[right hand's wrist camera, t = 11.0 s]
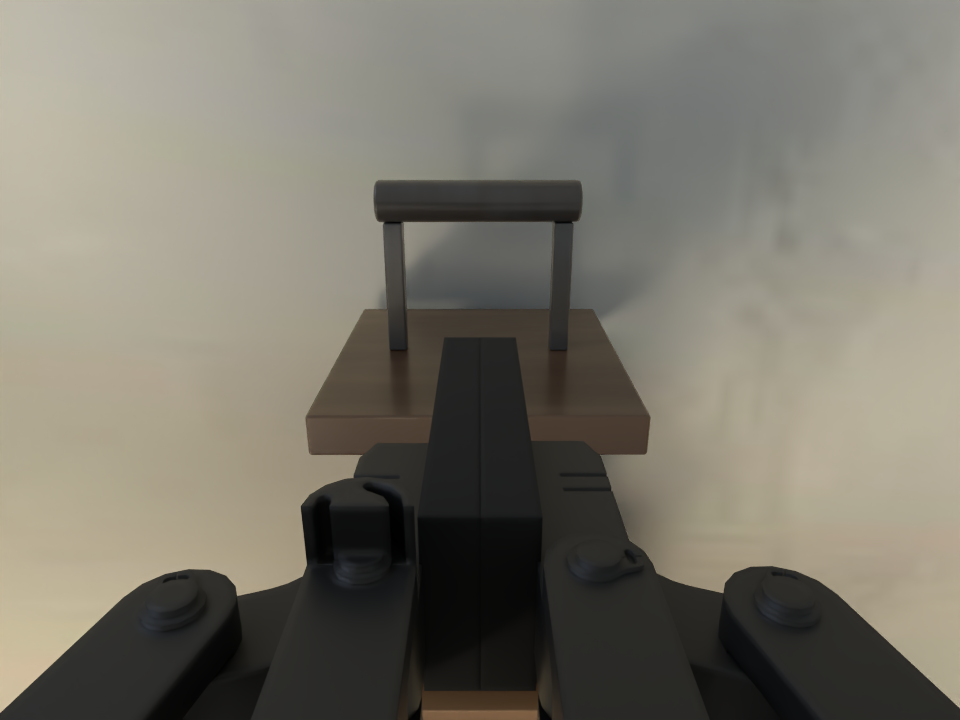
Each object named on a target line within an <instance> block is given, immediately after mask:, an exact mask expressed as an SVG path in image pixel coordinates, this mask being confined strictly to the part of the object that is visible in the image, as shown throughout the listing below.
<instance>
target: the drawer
mask: <svg viewBox="0 0 960 720" xmlns="http://www.w3.org/2000/svg"><path fill="white" fill-rule="evenodd" d="M582 199H583V196H582V185H581V182H580V181H579V180H378V181H376V183H375V186H374V211H375V216H376V219H377V221H379V222H384V224H383V237H384V257H385V276H386V296H387V309H365V310H364V311H363V313H362V315H361V317H360V318H359V320H358V322H357V324H356V326H355V328H354V329H353V331H352V333H351V335H350V337H349V339H348V340H347V342H346V344H345V346H344V348H343V349H342V351H341V353H340V355H339V357H338V359H337V360H336V362H335V364H334V366H333V368H332V370H331V371H330V373H329V375H328V377H327V379H326V381H325V382H324V384H323V386H322V388H321V390H320V392H319V393H318V395H317V397H316V399H315V401H314V402H313V404H312V406H311V408H310V410H309V412H308V413H307V415H306V427H307V437H308V447H309V453H310V454H311V455H364V454H365V453H366V452H367V451H368V450H369V449H371V448H372V447H373V446H374V445H375V444H376V443H429V436H430V429H431V423H432V416H433V409H434V402H435V396H436V389H437V382H438V376H439V369H440V362H441V355H442V349H443V342H444V337H516V342H517V349H518V355H519V362H520V369H521V376H522V382H523V389H524V396H525V402H526V409H527V416H528V423H529V429H530V436H531V441H584V442H585V443H586V444H587V445H589V446H590V447H591V448H592V449H593V450H594V451H596V452H597V453H598V454H646V453H647V447H648V437H649V426H650V415H649V413H648V411H647V410H646V408H645V406H644V404H643V402H642V400H641V398H640V397H639V395H638V393H637V391H636V389H635V387H634V385H633V383H632V382H631V380H630V378H629V376H628V374H627V372H626V370H625V369H624V367H623V365H622V363H621V361H620V359H619V357H618V355H617V354H616V352H615V350H614V348H613V346H612V344H611V342H610V340H609V339H608V337H607V335H606V333H605V331H604V329H603V327H602V326H601V324H600V322H599V320H598V318H597V316H596V314H595V312H594V311H593V310H592V309H569V308H570V287H571V266H572V246H573V223H572V222H577V221H579V220H580V217H581V213H582ZM403 222H553V232H552V259H551V285H550V309H407V298H406V273H405V248H404V223H403ZM423 683H424V679H423ZM536 683H537V677H536Z"/></svg>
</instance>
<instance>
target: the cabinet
mask: <svg viewBox="0 0 960 720" xmlns="http://www.w3.org/2000/svg"><path fill="white" fill-rule="evenodd" d="M422 714H423V720H537V714H538V686H537V683H536V691H424V683H423V689H422Z"/></svg>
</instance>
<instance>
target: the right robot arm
mask: <svg viewBox="0 0 960 720" xmlns="http://www.w3.org/2000/svg"><path fill="white" fill-rule="evenodd" d="M301 513H302V522H303V531H304V540H305V549H306V558H307V567H306V570H305V572H304V575H303V577H301V578H299V579H297V580H295V581H292V582H290V583H288V584H285V585H282V586H279V587H275V588H272V589H268V590H263V591H259V592H254V593H250V594H245V595H241V596H237V593H236V587H235V585H234V584H233V583H232V582H231V581H230V580H229V579H228V578H227V576H225V575H222V574H220V573H217V572H214V571H211V570H194V569H188V570H183V571H178V572H173V573H168V574H164V575H162V576H160V577H157V578H155V579H153V580H151V581H148V582H146V583H144V584H142V585H140V586H139V587H138V588H136V589H135V590H133V591H132V592H131V593H129V594H128V595H126V596H125V597H124V598H123V599H121V600H120V601H119V602H118V603H117V604H116V605H115V606H114V607H113V608H112V609H111V610H110V611H109V612H108V613H107V614H106V615H104V616H103V617H102V618H101V619H100V620H99V621H98V622H97V623H96V624H95V625H94V626H93V627H92V628H91V629H90V630H88V631H87V632H86V633H85V634H84V635H83V636H82V637H81V638H80V639H79V640H78V641H77V642H76V643H75V644H74V645H72V646H71V647H70V648H69V649H68V650H67V651H66V652H65V653H64V654H63V655H62V656H61V657H60V658H59V659H58V660H56V661H55V662H54V663H53V664H52V665H51V666H50V667H49V668H48V669H47V670H46V671H45V672H44V673H43V674H42V675H40V676H39V677H38V678H37V679H36V680H35V681H34V682H33V683H32V684H31V685H30V686H29V687H28V688H27V689H26V690H24V691H23V692H22V693H21V694H20V695H19V696H18V697H17V698H16V699H15V700H14V701H13V702H12V703H11V704H10V705H8V706H7V707H6V708H5V709H4V710H3V711H2V712H1V713H0V720H423V714H422V689H423V679H424V691H536V677H537V686H538V714H537V720H960V708H959V707H958V706H957V705H955V704H954V703H953V702H952V701H951V700H950V699H949V698H948V697H947V696H946V695H945V694H944V693H943V692H941V691H940V690H939V689H938V688H937V687H936V686H935V685H934V684H933V683H932V682H931V681H930V680H929V679H928V678H926V677H925V676H924V675H923V674H922V673H921V672H920V671H919V670H918V669H917V668H916V667H915V666H914V665H912V664H911V663H910V662H909V661H908V660H907V659H906V658H905V657H904V656H903V655H902V654H901V653H900V652H898V651H897V650H896V649H895V648H894V647H893V646H892V645H891V644H890V643H889V642H888V641H887V640H886V639H885V638H883V637H882V636H881V635H880V634H879V633H878V632H877V631H876V630H875V629H874V628H873V627H872V626H871V625H869V624H868V623H867V622H866V621H865V620H864V619H863V618H862V617H861V616H860V615H859V614H858V613H857V612H856V611H854V610H853V609H852V608H851V607H850V606H849V605H848V604H847V603H846V602H845V601H844V600H843V599H842V598H840V597H839V596H838V595H837V594H836V593H834V592H833V591H832V590H830V589H829V588H827V587H826V586H825V585H823V584H822V583H820V582H819V581H817V580H815V579H813V578H810V577H808V576H806V575H803V574H801V573H799V572H796V571H792V570H787V569H783V568H778V567H773V566H766V567H749V568H746V569H744V570H741V571H738V572H735V573H734V574H733V575H732V576H731V577H730V578H729V580H728V581H727V582H726V583H725V587H724V593H719V592H714V591H710V590H705V589H701V588H696V587H692V586H688V585H685V584H681V583H678V582H674V581H672V580H670V579H667V578H665V577H663V576H661V575H659V574H657V573H656V571H655V569H654V566H653V564H652V562H651V561H650V559H649V558H648V556H647V555H646V553H645V552H644V551H643V550H642V549H640V548H639V547H637V546H636V545H635V544H633V543H632V542H630V541H629V539H628V536H627V533H626V530H625V527H624V524H623V521H622V518H621V515H620V512H619V509H618V506H617V503H616V500H615V497H614V494H613V491H611V485H610V482H609V479H608V477H606V471H605V468H604V465H603V462H602V459H601V456H600V455H599V454H598V453H597V452H596V451H594V450H593V449H592V448H591V447H590V446H589V445H587V444H586V443H585V442H584V441H531V436H530V429H529V423H528V416H527V409H526V402H525V396H524V389H523V382H522V376H521V369H520V362H519V355H518V349H517V342H516V337H444V342H443V349H442V355H441V362H440V369H439V376H438V382H437V389H436V396H435V402H434V409H433V416H432V423H431V429H430V436H429V443H376V444H375V445H374V446H373V447H372V448H371V449H369V450H368V451H367V452H366V453H365V454H364V455H363V456H361V457H360V458H359V461H358V464H357V467H356V470H355V473H354V478H351V479H344V480H341V481H337V482H334V483H331V484H328V485H325V486H323V487H322V488H320V489H319V490H317V491H315V492H314V493H312V494H310V495H309V497H308V498H307V499H306V500H305V502H304V503H303V504H302V505H301Z"/></svg>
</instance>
